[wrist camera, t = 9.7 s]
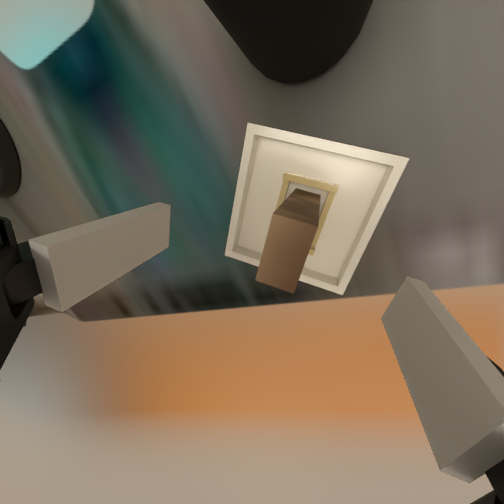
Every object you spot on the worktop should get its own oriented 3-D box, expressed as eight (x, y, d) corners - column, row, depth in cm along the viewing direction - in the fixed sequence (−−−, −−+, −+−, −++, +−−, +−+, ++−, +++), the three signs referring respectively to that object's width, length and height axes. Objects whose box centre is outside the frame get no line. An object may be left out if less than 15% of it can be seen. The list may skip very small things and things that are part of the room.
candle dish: (232, 247, 29) (224, 255, 26) (255, 126, 23) (247, 122, 20) (341, 283, 26) (342, 295, 24) (400, 158, 20) (409, 158, 18)
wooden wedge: (284, 228, 25) (255, 280, 14) (296, 188, 23) (272, 213, 12) (306, 235, 25) (293, 293, 14) (320, 194, 23) (318, 226, 12)
